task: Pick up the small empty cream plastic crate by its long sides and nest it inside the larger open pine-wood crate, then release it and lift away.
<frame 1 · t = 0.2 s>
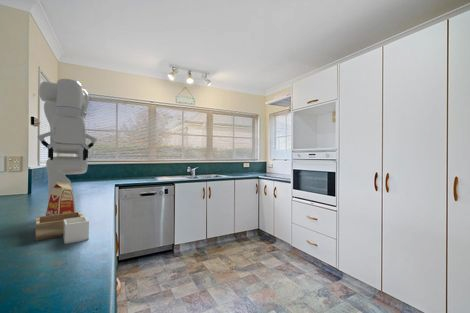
hand: (68, 160, 81), 30 cm above the table, tool pointing down, fingers open, 9 cm apart
pine crate: (60, 231, 91), on the table
cream crate: (75, 238, 84), on the table
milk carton: (61, 224, 103), on the table
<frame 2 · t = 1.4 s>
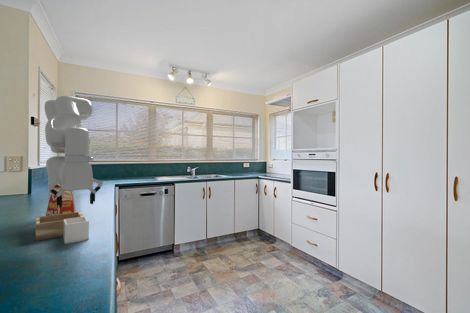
hand: (76, 205, 84), 13 cm above the table, tool pointing down, fingers open, 9 cm apart
nothing on the table moved.
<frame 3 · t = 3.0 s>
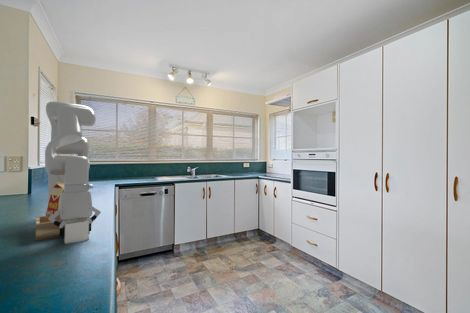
hand: (75, 235, 84), 1 cm above the table, tool pointing down, fingers closed on cream crate, 7 cm apart
cream crate: (75, 238, 84), on the table, touching gripper
everything else where it was.
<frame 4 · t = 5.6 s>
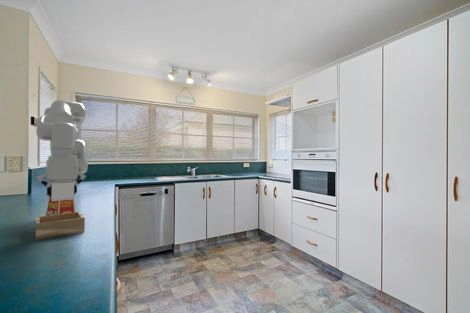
hand: (62, 195, 91), 15 cm above the table, tool pointing down, fingers closed on cream crate, 7 cm apart
cream crate: (62, 198, 91), point 14 cm above the table, touching gripper
everything else where it was.
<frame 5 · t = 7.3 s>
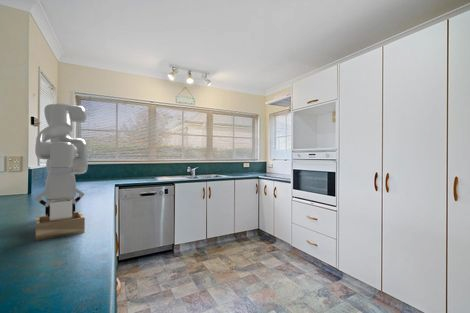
hand: (60, 214, 91), 7 cm above the table, tool pointing down, fingers closed on cream crate, 7 cm apart
cream crate: (60, 217, 91), point 6 cm above the table, touching gripper
everything else where it was.
when the fingers open (4 cm above the table, at t = 8.5 s): cream crate drops 2 cm, resting on pine crate.
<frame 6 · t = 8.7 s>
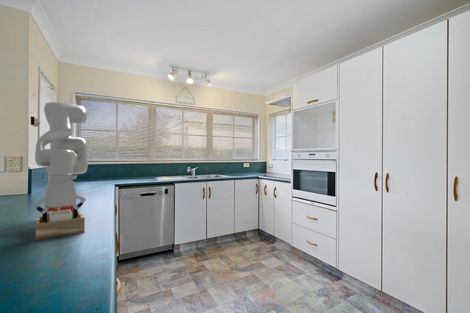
hand: (60, 220, 91), 5 cm above the table, tool pointing down, fingers open, 9 cm apart
cream crate: (60, 229, 91), point 1 cm above the table, touching pine crate
everything else where it was.
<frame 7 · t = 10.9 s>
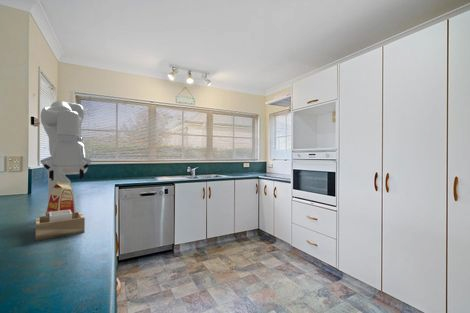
hand: (66, 179, 95), 21 cm above the table, tool pointing down, fingers open, 9 cm apart
nothing on the table moved.
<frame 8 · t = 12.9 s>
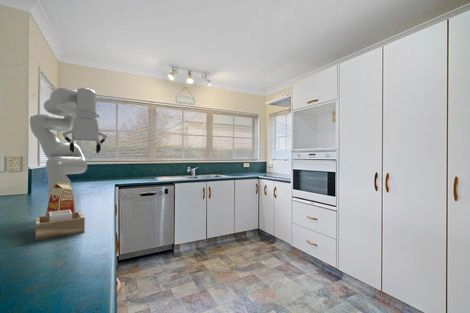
hand: (85, 152, 102), 33 cm above the table, tool pointing down, fingers open, 9 cm apart
nothing on the table moved.
at the end: cream crate 0.0 cm off-centre on the pine crate, point 1.0 cm above the pine crate's base; cream crate tilted 0°; the gripper is holding nothing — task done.
